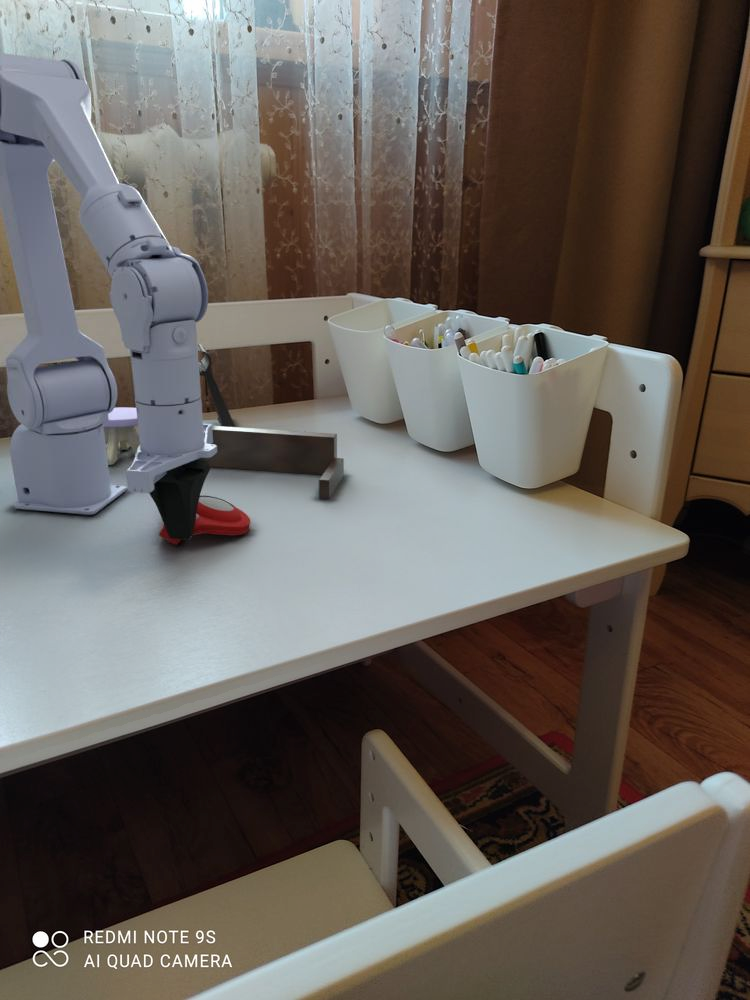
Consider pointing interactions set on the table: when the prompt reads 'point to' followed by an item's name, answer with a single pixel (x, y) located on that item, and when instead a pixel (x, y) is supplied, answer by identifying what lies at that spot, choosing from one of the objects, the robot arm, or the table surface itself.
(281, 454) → the footed wooden plank
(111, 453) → the toy table
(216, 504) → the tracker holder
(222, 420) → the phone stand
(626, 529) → the table surface
